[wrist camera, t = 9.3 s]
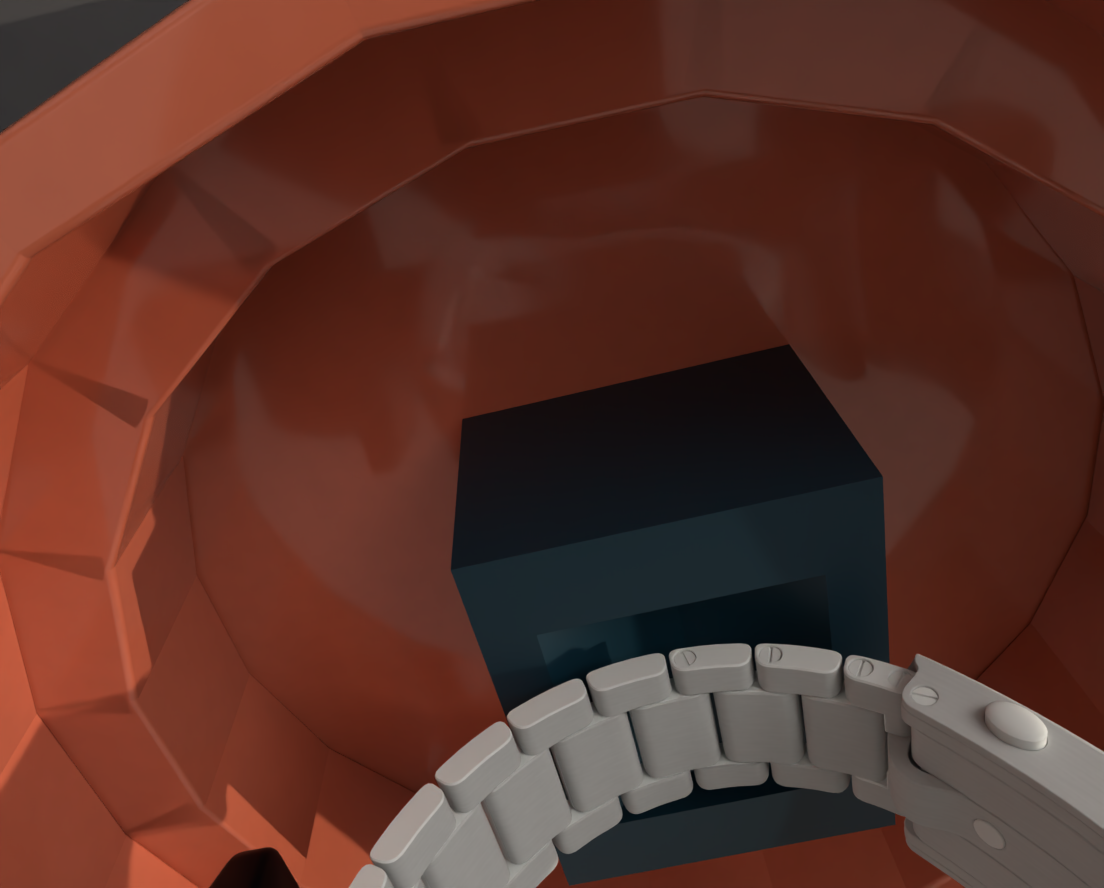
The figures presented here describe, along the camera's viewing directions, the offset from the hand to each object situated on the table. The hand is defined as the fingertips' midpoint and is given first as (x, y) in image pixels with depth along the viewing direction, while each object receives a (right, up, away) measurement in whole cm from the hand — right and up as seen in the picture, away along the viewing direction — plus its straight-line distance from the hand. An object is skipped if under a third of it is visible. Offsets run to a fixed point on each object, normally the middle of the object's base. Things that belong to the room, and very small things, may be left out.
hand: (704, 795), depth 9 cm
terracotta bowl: (0, +2, +4) cm, 5 cm away
